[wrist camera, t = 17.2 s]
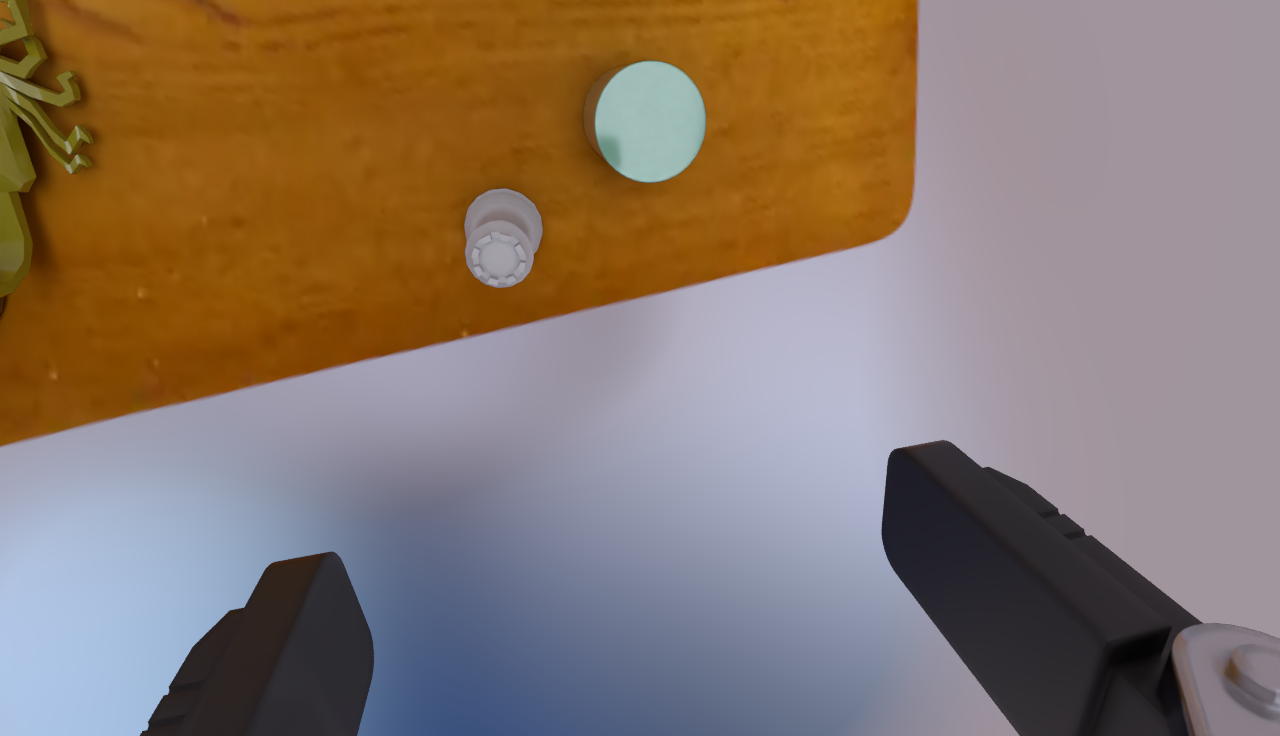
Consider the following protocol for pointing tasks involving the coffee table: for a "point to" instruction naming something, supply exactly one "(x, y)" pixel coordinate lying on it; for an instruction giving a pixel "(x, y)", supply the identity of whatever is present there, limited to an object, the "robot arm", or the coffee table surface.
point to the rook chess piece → (502, 237)
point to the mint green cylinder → (645, 120)
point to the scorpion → (3, 155)
